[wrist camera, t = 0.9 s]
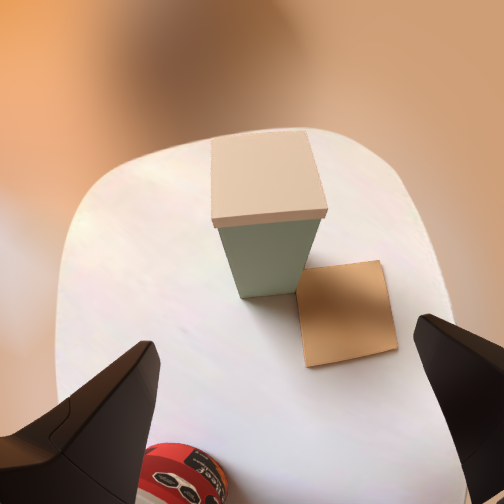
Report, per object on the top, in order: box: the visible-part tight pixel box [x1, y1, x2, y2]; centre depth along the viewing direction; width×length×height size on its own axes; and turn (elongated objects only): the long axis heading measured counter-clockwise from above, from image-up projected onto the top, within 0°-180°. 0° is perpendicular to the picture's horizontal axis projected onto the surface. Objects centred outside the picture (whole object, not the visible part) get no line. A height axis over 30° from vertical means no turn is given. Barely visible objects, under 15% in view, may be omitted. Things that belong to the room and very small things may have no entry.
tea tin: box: [211, 131, 328, 298], centre depth 18 cm, size 5×5×13 cm
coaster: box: [295, 260, 398, 367], centre depth 22 cm, size 8×8×1 cm
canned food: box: [135, 443, 228, 504], centre depth 12 cm, size 8×8×11 cm
